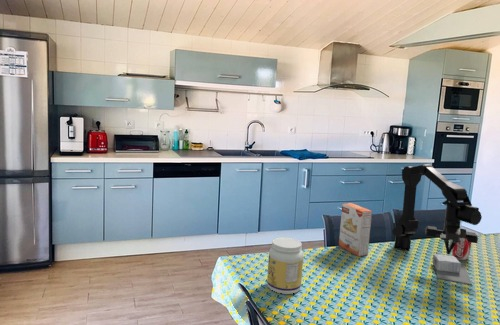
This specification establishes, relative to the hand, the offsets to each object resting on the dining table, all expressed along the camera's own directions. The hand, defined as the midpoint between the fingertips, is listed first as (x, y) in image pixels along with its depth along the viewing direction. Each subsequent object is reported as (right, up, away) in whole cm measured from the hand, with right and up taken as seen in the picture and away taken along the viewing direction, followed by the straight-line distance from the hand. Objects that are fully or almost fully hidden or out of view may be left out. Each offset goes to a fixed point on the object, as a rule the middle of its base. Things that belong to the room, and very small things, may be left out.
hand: (448, 254), depth 159 cm
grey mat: (+2, -7, 0) cm, 7 cm away
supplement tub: (-70, -7, -22) cm, 74 cm away
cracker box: (-35, -3, +18) cm, 39 cm away
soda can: (+14, -6, +16) cm, 22 cm away
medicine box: (-4, -4, +3) cm, 6 cm away
